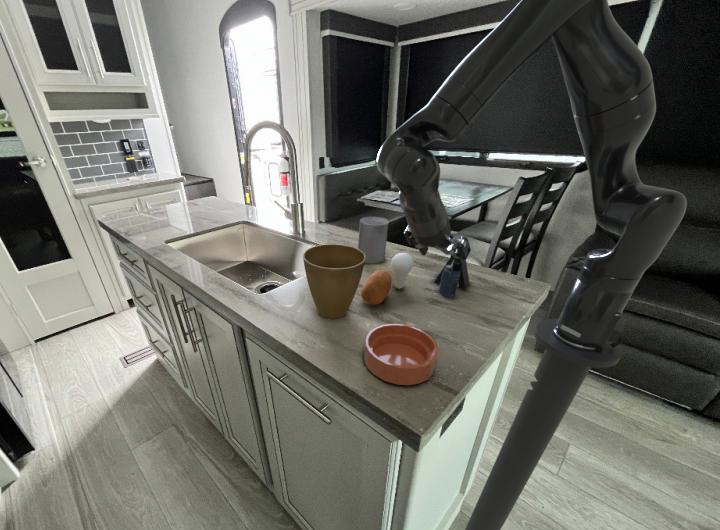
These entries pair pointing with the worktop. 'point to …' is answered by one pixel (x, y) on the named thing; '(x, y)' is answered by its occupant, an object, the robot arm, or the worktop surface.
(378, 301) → the potato
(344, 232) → the worktop surface
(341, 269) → the plant pot
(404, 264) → the lightbulb
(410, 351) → the bowl
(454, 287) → the vaping device
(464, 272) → the phone stand
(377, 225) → the pillar candle
